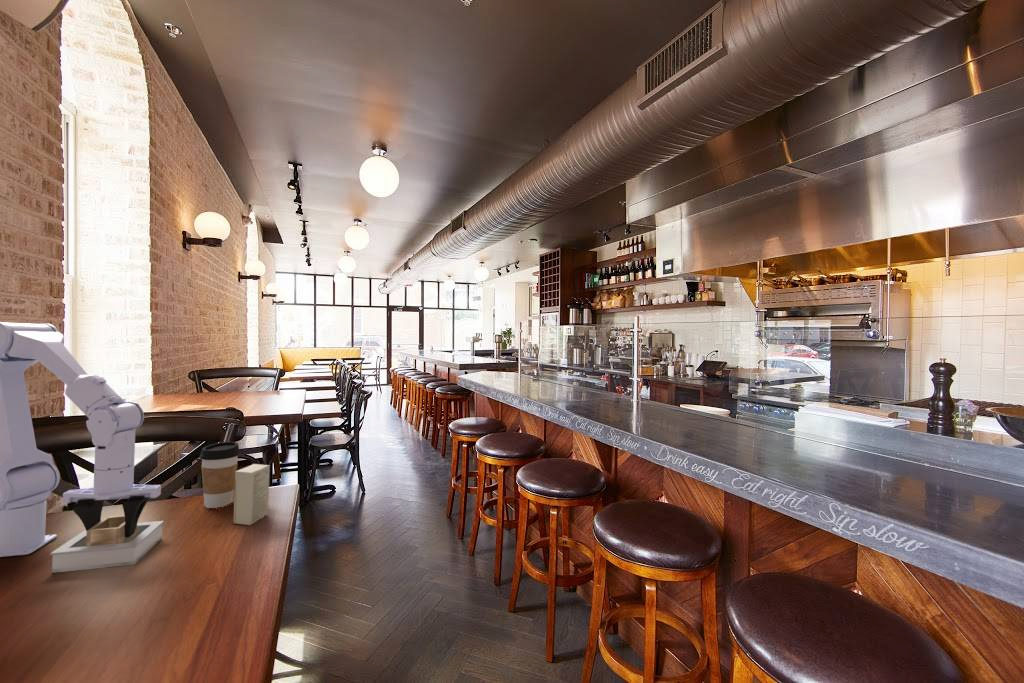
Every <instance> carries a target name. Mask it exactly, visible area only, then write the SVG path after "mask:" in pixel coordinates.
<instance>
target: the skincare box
mask: <svg viewBox="0 0 1024 683" xmlns="http://www.w3.org/2000/svg"><path fill="white" fill-rule="evenodd" d="M270 466H271V465H270V464H260V463H251V465H247V466H245V467H242V468H240V469H237V471H235V487H234V494H233V500H234V503H233V522H232V523H233V524H236V525H237V524H238V525H247V526H251V525H252V524H254V523H256V522H258V521H259V519H260V518H261V519H263V518H264V516H265V515H266V516H268V515H269V497H270V496H269V494H270V492H269V491H270V471H271V470H270ZM267 514H268V515H267ZM266 516H265V517H266ZM262 517H263V518H262ZM261 519H260V520H261ZM257 520H258V521H257Z"/></svg>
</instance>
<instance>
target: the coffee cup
mask: <svg viewBox="0 0 1024 683" xmlns="http://www.w3.org/2000/svg"><path fill="white" fill-rule="evenodd" d="M240 451H241V450H240V447H239V442H237V441H223V442H222V441H221V442H217V443H214V444H210V445H206V446H204V447H202V448H201V453H200V455H199V456H200V457H199V459H201V468H200V469H201V478H202V480H201V481H202V491H203V505H204V506H205V507H207V508H206V509H209V508H216V509H218V508H217V507H221V506H225V505H227V504H229V503H231V502H232V503H233V500H234V494H235V471H237V470H238V465H239V464H238V463H239V462H238V456H239V455H241V452H240ZM205 507H204V508H205Z"/></svg>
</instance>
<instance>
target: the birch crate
mask: <svg viewBox="0 0 1024 683" xmlns="http://www.w3.org/2000/svg"><path fill="white" fill-rule="evenodd" d="M136 537H137V525H136V528H135V532H134V534H132V535H131V536H130V537H125V515H124V514H123V515H115V516H114V515H113V516H112V515H111V516H106V517H104V518H103V519H101V521H100V522H99V523H97V524H96V525H94V526H93V527H92V528H90V529H89V530H87V534H86V546H96V545H108V544H119V543H130V542H131V541H132V540H134V539H135V538H136Z"/></svg>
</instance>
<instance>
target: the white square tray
mask: <svg viewBox="0 0 1024 683" xmlns="http://www.w3.org/2000/svg"><path fill="white" fill-rule="evenodd" d="M164 523H165V520H158V521H157V520H156V521H155V520H154V521H142V522H137V537H136V538H135V539H134V540H132V541H131V542H130V543H119V544H108V545H96V546H86V534H87V531H86V529H84V530H83V531H81V532H80V533H79V534H77V535H76V536H74V537H72V538H71V539H70V540H68V541H66V542H65V543H63V544H62V545H60V546H59V547H58V548H56V549H54V550H53V551H52V552H50V556H52V561H51V562H52V563H51V564H52V565H51V566H52V571H51V573H52V574H53V573H54V574H56V573H64V572H73V571H74V572H75V571H85V570H94V569H95V570H96V569H104V568H105V569H106V568H111V567H113V568H114V567H122V566H134V565H136V564H137V563H138V562H139V561H140V560H141V559H142V558H143V557H145V555H147V553H149V551H150V550H151V549H152V548H154V546H156V545H157V544H158V543H159V542H160V541H161V540H162V537H163V524H164ZM158 541H159V542H158ZM157 542H158V543H157Z"/></svg>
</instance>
